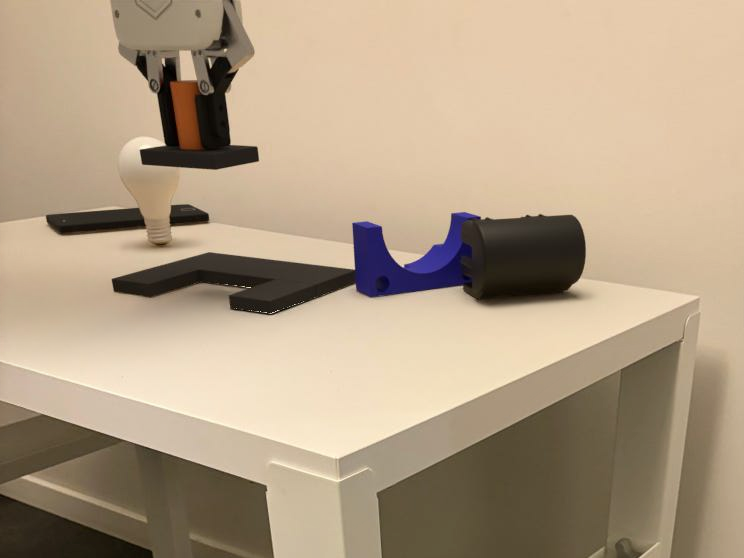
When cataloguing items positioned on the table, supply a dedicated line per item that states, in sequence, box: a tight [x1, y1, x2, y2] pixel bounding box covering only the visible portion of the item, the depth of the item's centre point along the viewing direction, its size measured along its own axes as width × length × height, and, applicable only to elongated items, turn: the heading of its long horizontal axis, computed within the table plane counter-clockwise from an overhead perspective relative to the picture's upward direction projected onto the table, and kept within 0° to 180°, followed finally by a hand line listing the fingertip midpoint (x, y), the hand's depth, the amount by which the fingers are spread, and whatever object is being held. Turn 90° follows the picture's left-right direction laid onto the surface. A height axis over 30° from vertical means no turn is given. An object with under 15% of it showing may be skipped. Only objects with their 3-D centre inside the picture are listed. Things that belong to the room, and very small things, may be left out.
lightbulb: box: [117, 135, 181, 247], centre depth 107 cm, size 6×6×11 cm
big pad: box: [111, 251, 356, 313], centre depth 94 cm, size 18×14×1 cm
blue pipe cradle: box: [351, 211, 482, 298], centre depth 94 cm, size 12×4×6 cm, turn 122°
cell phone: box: [45, 203, 210, 234], centre depth 122 cm, size 9×18×1 cm, turn 121°
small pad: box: [140, 79, 260, 171], centre depth 84 cm, size 8×6×6 cm
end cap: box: [460, 213, 587, 300], centre depth 90 cm, size 10×7×7 cm
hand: (198, 143), depth 84 cm, fingers closed on small pad, 3 cm apart
